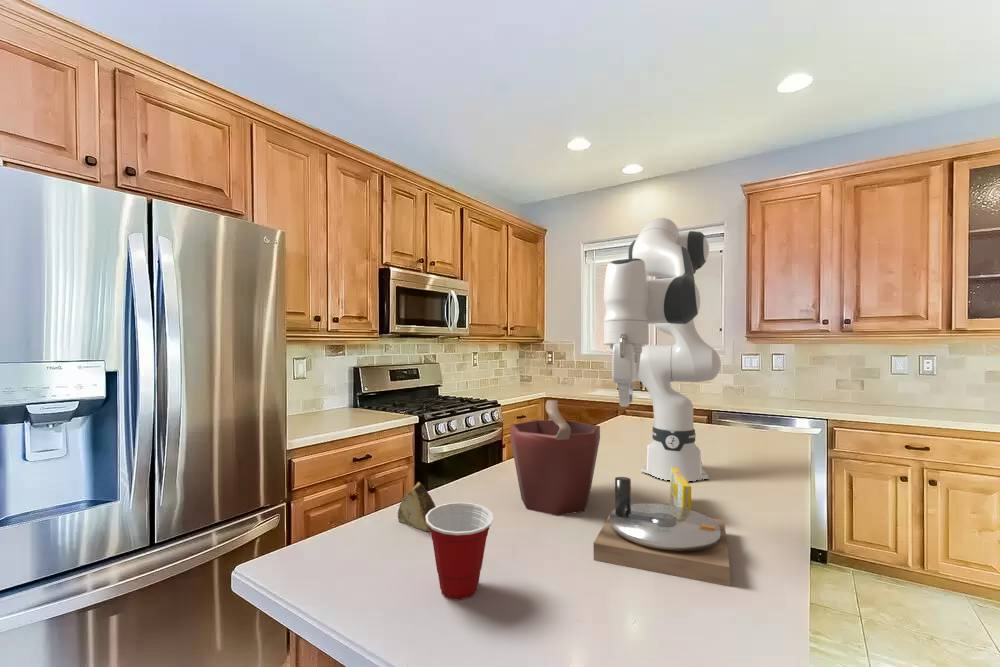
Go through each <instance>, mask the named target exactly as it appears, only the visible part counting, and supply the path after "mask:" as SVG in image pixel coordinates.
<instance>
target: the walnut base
mask: <svg viewBox="0 0 1000 667" xmlns="http://www.w3.org/2000/svg"><path fill="white" fill-rule="evenodd" d="M613 510H615V505H614V506H613V508H612V510H611V511H610V513H611V512H612V511H613ZM710 518H711V519H712V520H714V521H715V522H716V523H717V524H718V525H719V527H720V534H721V537H720V540H719V542H718V543H717V544H715V545H714V546H712V547H709V548H705V549H701V550H692V551H675V550H665V549H658V548H653V547H649V546H645V545H641V544H638V543H635V542H632V541H630V540H628V539H625V538H623V537H622V536H620V535H618V534H617V533H616V532H615V531H614V530H613V529H612V528H611V526H610V514H608V517H607V519H606V520H605V522H604V523H603V526H602V527H601V529H600V531H599V533H598V534H597V536H596V538H595V540H594V542H593V561H598V562H604V563H609V564H614V565H619V566H624V567H627V568H628V567H629V568H634V569H640V570H644V571H650V572H654V573H659V574H665V575H671V576H675V577H681V578H686V579H689V580H695V581H702V582H707V583H712V584H717V585H722V586H728V587H731V569H730V560H729V557H730V556H729V551H728V550H729V549H728V541H727V532H726V525H725V519H720V518H714V517H710Z"/></svg>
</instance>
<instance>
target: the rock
mask: <svg viewBox="0 0 1000 667" xmlns="http://www.w3.org/2000/svg"><path fill="white" fill-rule="evenodd" d="M435 507H437V505H436V504H435V502H434V500H433V498H432V497H431V495H430V493H429V492H428V490H426V487H425V486H424V484H422V483H421V482H420V481H417V483H416V484H415V485H414V486H413V488H412V489H411V490H409V491H408V493H406V494H405V495H404V497H403V498H402V499H401V502H400V504H399V508H398V511H397V520H398V521H399V522H401V523H405V524H406V525H409V526H412V527H413V528H416V529H420V530H422V531H425V532H430V529H429V527H428V525H427V523H426V514H427V513H428V512H429V511H430V510H431V509H433V508H435Z"/></svg>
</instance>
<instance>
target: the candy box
mask: <svg viewBox="0 0 1000 667" xmlns="http://www.w3.org/2000/svg"><path fill="white" fill-rule="evenodd" d="M669 483H670V484H669V485H670V486H669V488H670V489H669V500H670V502H671V504H672V506H677V507H681V508H686V509H689V510H692V509H691V508H692V486H691V485H690V482H687V481H686V479H685V478H684V477H683V475H682V474H681V472H680V471H679V469H678V468H673V467H671V476H670V481H669Z"/></svg>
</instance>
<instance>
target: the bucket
mask: <svg viewBox="0 0 1000 667" xmlns="http://www.w3.org/2000/svg"><path fill="white" fill-rule="evenodd" d="M545 411H546V413H547V415H548V419H546V420H545V419H533V420H528V421H523V422H516V423H512V424H511V423H510V424H509V438H510V444H511V448H512V455H513V459H514V464H515V465H514V466H515V470H516V476H517V481H518V488H519V492H520V497H521V499H520V500H522V502H523V505H524V507H525V509H526V510H527V511H529V510H530V511H534V512H538V513H543V514H546V515H547V514H548V515H551V516H561V514H562V515H567V513H569V514H575V513H574V512H576V513H581V512H580V511H583V512H585V510H586V509H585V508H587V506H588V504H589V502H588V501H590V496H591V490H592V486H593V485H592V484H593V480H594V474H595V473H594V472H595V470H596V469H595V467H596V461H597V456H598V452H599V446H600V440H601V426H600V425H595V424H590V423H587V422H581V421H576V420H565V418H563V416H562V413H561V412H560V409H559V400H557V399H555V400H550V399H548V400H546V402H545ZM587 503H588V504H587Z"/></svg>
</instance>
